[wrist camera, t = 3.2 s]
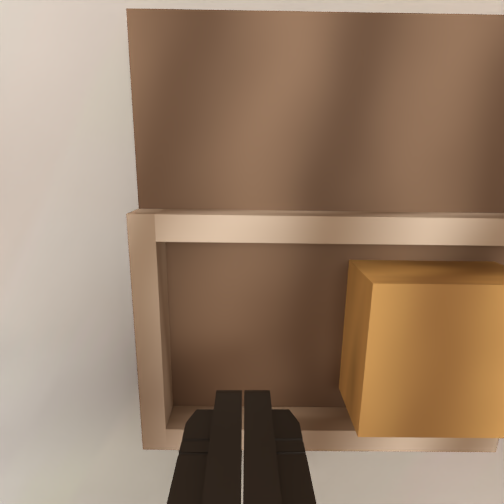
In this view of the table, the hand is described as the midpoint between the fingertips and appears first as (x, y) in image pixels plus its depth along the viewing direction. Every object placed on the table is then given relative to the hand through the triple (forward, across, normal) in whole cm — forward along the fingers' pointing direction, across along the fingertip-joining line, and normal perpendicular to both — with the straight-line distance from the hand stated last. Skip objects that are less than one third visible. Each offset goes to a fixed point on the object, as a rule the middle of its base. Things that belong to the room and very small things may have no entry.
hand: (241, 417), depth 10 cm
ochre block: (+6, -7, 0) cm, 9 cm away
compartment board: (+8, -8, -4) cm, 12 cm away
